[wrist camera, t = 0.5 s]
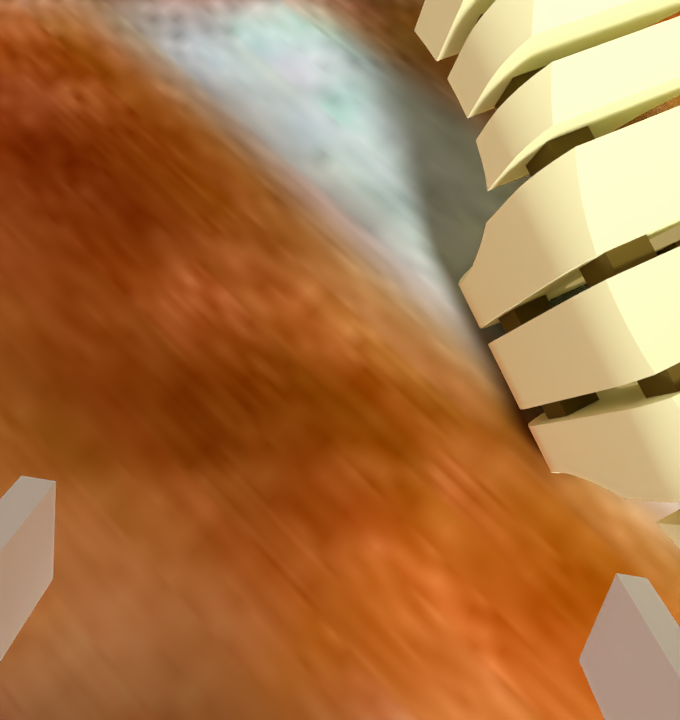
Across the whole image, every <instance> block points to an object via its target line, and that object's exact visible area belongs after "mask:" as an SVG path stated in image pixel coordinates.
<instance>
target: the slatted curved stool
mask: <svg viewBox="0 0 680 720" xmlns="http://www.w3.org/2000/svg"><path fill="white" fill-rule="evenodd" d="M679 11H680V0H425V2H424V5H423V7H422V10H421V13H420V16H419V18H418V21H417V24H416V27H415V30H414V31H415V33H416V34H417V35H418V36H419V38H420V39H421V40H422V42H423V43H424V44H425V46H426V47H427V48H428V50H429V51H430V53H431V54H432V56H433V57H434V59H435V60H436V61H439V60H441V59H444V58H447V57H450V56H453V55H456V54H459V55H458V58H457V60H456V62H455V64H454V66H453V68H452V70H451V72H450V74H449V76H448V78H447V79H448V81H449V83H450V85H451V87H452V89H453V91H454V92H455V94H456V96H457V98H458V100H459V102H460V104H461V106H462V109H463V111H464V113H465V115H466V117H467V118H469V117H472V116H475V115H478V114H480V113H483V112H486V111H488V110H491V109H494V108H496V110H497V111H496V112H495V113H494V114H493V116H492V117H491V118H490V120H489V121H488V123H487V124H486V126H485V127H484V129H483V130H482V132H481V133H480V135H479V136H478V138H477V139H476V143H477V146H478V150H479V153H480V156H481V160H482V164H483V168H484V173H485V178H486V185H487V191H489V190H491V189H494V188H496V187H499V186H501V185H504V184H506V183H509V182H512V181H514V180H517V179H519V178H522V177H524V176H527V175H529V174H530V176H531V178H530V179H529V180H527V181H526V182H525V183H524V184H523V185H521V186H520V187H519V188H518V189H517V190H516V191H515V192H514V193H513V194H512V195H511V196H510V197H509V198H508V200H507V201H506V202H505V203H504V204H503V205H502V206H501V207H500V208H499V209H498V210H497V211H496V213H495V214H494V215H493V216H492V217H491V218H490V219H489V220H488V221H487V222H486V225H485V229H484V233H483V238H482V241H481V244H480V247H479V250H478V254H477V256H476V258H475V261H474V263H473V266H472V267H471V268H470V269H469V270H468V271H467V272H466V273H465V274H464V275H463V276H462V278H461V279H460V281H459V284H458V285H459V287H460V289H461V291H462V293H463V295H464V297H465V299H466V301H467V303H468V305H469V307H470V309H471V311H472V313H473V315H474V317H475V319H476V321H477V323H478V325H479V327H480V329H483V328H486V327H489V326H492V325H494V324H497V323H499V322H500V323H501V325H502V327H503V329H504V331H505V333H506V334H505V335H503V336H501V337H500V338H498V339H496V340H494V341H493V342H491V343H489V344H488V345H489V347H490V349H491V351H492V354H493V356H494V358H495V360H496V362H497V364H498V366H499V368H500V370H501V372H502V374H503V376H504V378H505V380H506V382H507V384H508V386H509V388H510V390H511V392H512V394H513V396H514V398H515V400H516V402H517V404H518V406H519V408H520V409H527V408H532V407H536V406H540V405H541V406H542V408H543V410H544V413H543V414H541V415H539V416H538V417H536V418H535V419H533V420H532V421H531V422H530V423H529V424H528V426H529V429H530V431H531V433H532V435H533V437H534V439H535V441H536V443H537V445H538V447H539V449H540V451H541V453H542V455H543V457H544V459H545V461H546V463H547V465H548V467H549V469H550V471H551V472H552V473H567V474H570V475H574V476H577V477H579V478H582V479H584V480H587V481H590V482H592V483H594V484H596V485H599V486H601V487H603V488H605V489H607V490H609V491H611V492H613V493H615V494H617V495H618V496H620V497H622V498H624V499H626V500H641V501H655V502H670V503H672V502H680V106H678V107H675V108H673V109H670V110H668V111H665V112H663V113H660V114H657V115H655V116H652V117H650V118H647V119H645V120H642V121H640V122H637V123H635V124H632V125H630V126H627V127H625V128H622V129H619V130H617V131H614V130H616V129H618V128H619V127H621V126H623V125H624V124H626V123H628V122H629V121H631V120H633V119H635V118H636V117H638V116H640V115H642V114H644V113H645V112H647V111H649V110H651V109H653V108H655V107H657V106H659V105H661V104H663V103H665V102H667V101H669V100H671V99H673V98H675V97H677V96H679V95H680V16H679V17H676V18H673V19H670V20H668V21H665V22H662V23H659V24H656V25H654V26H651V27H649V26H650V25H652V24H654V23H656V22H658V21H660V20H662V19H664V18H666V17H668V16H670V15H673V14H675V13H677V12H679ZM647 27H648V28H647ZM613 131H614V132H613ZM611 132H612V133H611ZM658 251H660V253H661V254H662V255H659V256H657V254H656V252H658ZM584 284H587V286H588V287H589V289H587V290H585V291H583V292H581V293H579V294H577V295H575V296H573V297H572V298H570V299H568V300H566V301H564V302H562V303H561V304H559V305H557V306H555V307H554V308H552V306H551V304H550V302H549V300H551V299H553V298H556V297H558V296H560V295H562V294H564V293H567V292H569V291H571V290H573V289H576V288H578V287H580V286H582V285H584ZM656 524H657V525H658V526H659V527H660V528H661V529H662V530H663V531H664V532H665V533H666V534H667V535H668V536H669V537H670V538H671V540H672V541H673V542H674V543H675V544H676V546H677V547H678V548H679V549H680V510H678V511H676V512H674V513H672V514H671V515H669V516H667V517H665V518H663V519H662V520H660V521H658V522H656Z"/></svg>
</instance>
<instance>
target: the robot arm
mask: <svg viewBox="0 0 680 720" xmlns="http://www.w3.org/2000/svg"><path fill="white" fill-rule="evenodd" d="M55 503H56V481H52V480H46V479H40V478H34V477H27V476H21V477H20V478H19V479H18V480H17V481H16V482H15V483H14V484H13V485H12V486H11V488H10V489H9V490H8V491H7V492H6V493H5V494H4V495H3V496H2V497H1V499H0V662H1V660H2V658H3V657H4V655H5V654H6V652H7V651H8V649H9V647H10V646H11V644H12V643H13V641H14V640H15V638H16V636H17V635H18V633H19V632H20V630H21V629H22V627H23V625H24V624H25V622H26V621H27V619H28V618H29V616H30V614H31V613H32V611H33V610H34V608H35V607H36V605H37V603H38V602H39V600H40V599H41V597H42V596H43V594H44V592H45V591H46V589H47V588H48V586H49V585H50V583H51V581H52V580H53V569H54V536H55ZM579 662H580V664H581V666H582V669H583V671H584V673H585V676H586V678H587V680H588V683H589V685H590V687H591V689H592V692H593V694H594V696H595V699H596V701H597V703H598V706H599V708H600V710H601V713H602V715H603V717H604V719H605V720H680V627H679V626H678V624H677V623H676V621H675V619H674V618H673V616H672V615H671V613H670V612H669V610H668V609H667V607H666V606H665V604H664V603H663V601H662V600H661V598H660V597H659V595H658V594H657V592H656V591H655V589H654V588H653V586H652V585H651V583H650V582H649V580H648V579H647V578H643V577H636V576H630V575H624V574H618V573H616V575H615V578H614V580H613V582H612V585H611V587H610V589H609V592H608V594H607V596H606V598H605V601H604V603H603V605H602V608H601V610H600V612H599V615H598V617H597V619H596V621H595V624H594V626H593V628H592V631H591V633H590V635H589V638H588V640H587V642H586V644H585V647H584V649H583V651H582V654H581V656H580V658H579Z"/></svg>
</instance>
